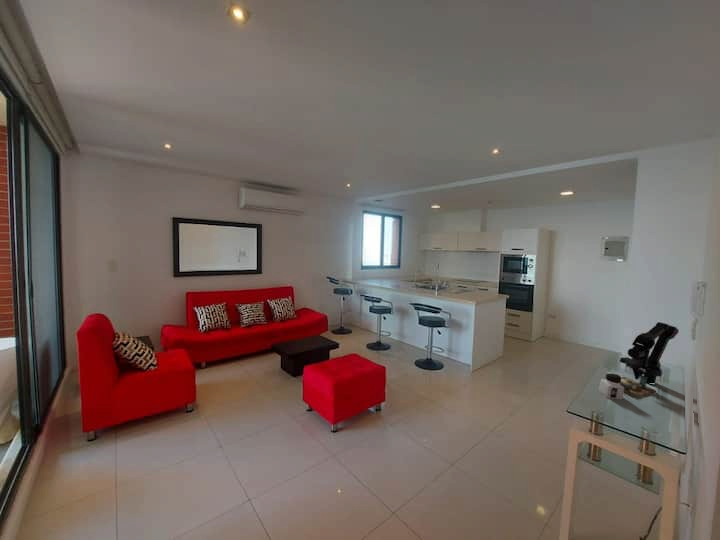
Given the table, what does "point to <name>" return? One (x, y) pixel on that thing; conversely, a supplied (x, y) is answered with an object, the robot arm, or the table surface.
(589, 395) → the table surface
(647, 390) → the stand
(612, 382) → the container
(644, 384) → the capstan
